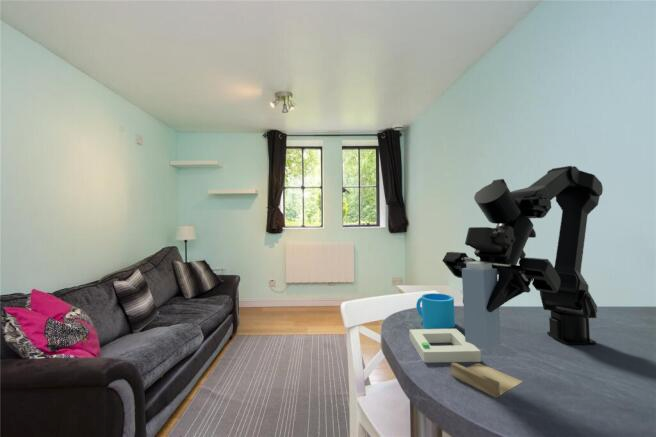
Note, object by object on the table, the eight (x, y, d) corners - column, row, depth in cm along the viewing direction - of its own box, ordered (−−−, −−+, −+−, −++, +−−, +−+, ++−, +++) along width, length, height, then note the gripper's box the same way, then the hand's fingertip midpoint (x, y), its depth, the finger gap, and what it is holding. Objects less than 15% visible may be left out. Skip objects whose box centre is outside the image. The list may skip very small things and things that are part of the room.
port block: (456, 341, 68) (456, 326, 68) (481, 366, 56) (480, 348, 56) (409, 342, 68) (409, 327, 68) (424, 367, 56) (423, 349, 56)
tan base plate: (478, 367, 55) (477, 352, 56) (523, 387, 49) (522, 369, 49) (451, 380, 51) (450, 363, 51) (496, 403, 45) (495, 384, 45)
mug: (462, 329, 75) (460, 298, 75) (439, 335, 72) (437, 302, 72) (428, 316, 86) (426, 289, 86) (406, 321, 83) (405, 293, 83)
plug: (478, 336, 53) (475, 260, 53) (500, 343, 50) (496, 262, 50) (465, 341, 51) (461, 263, 51) (487, 349, 48) (482, 265, 48)
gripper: (446, 213, 61) (410, 272, 55) (548, 207, 45) (513, 289, 39) (470, 247, 65) (440, 305, 59) (573, 253, 49) (544, 334, 43)
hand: (476, 307), depth 50 cm, fingers closed on plug, 4 cm apart
